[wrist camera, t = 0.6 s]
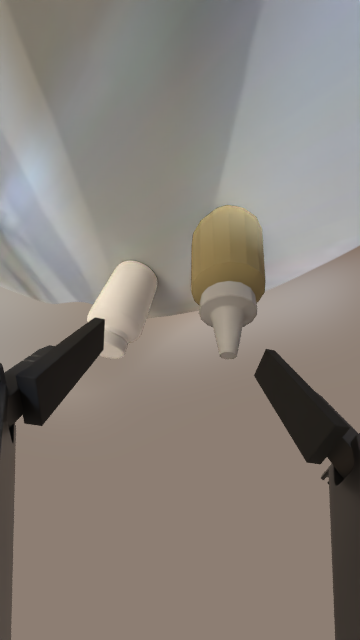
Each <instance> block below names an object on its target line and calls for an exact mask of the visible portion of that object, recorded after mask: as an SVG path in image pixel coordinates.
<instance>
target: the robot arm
mask: <svg viewBox="0 0 360 640" xmlns="http://www.w3.org/2000/svg"><path fill="white" fill-rule="evenodd" d="M104 329H105V319H101V318H96V317H95V318H93V319H92V320H90V321H89V322H88V323H87V324H85V325H84V326H82V327H81V328H80V329H78V330H77V331H75V332H74V333H73V334H72V335H70V336H69V337H67V338H66V339H65V340H63V341H62V342H61V343H59V344H58V345H56V346H47V347H44V348H42V349H39V350H38V351H36V352H35V353H33V354H32V355H31V356H29V357H27V358H26V359H24V361H21V362H20V363H18V364H17V365H15V366H14V367H12V368H11V369H9V370H8V371H6V372H5V373H4V370H3V366H2V364H1V363H0V640H11V611H12V570H13V567H12V566H13V528H14V527H13V526H14V485H15V484H14V483H15V441H16V425H15V422H16V421H17V420H18V419H19V418H20V417H21V416H22V415H23V418H24V423H26V424H32V425H39V426H42V425H43V424H44V423H45V421H46V420H47V419H48V418H49V417H50V415H51V414H52V413H53V411H54V410H55V409H56V408H57V407H58V405H59V404H60V403H61V402H62V400H63V399H64V398H65V397H66V395H67V394H68V393H69V392H70V390H71V389H72V388H73V387H74V386H75V384H76V383H77V382H78V381H79V379H80V378H81V377H82V376H83V374H84V373H85V372H86V371H87V370H88V368H89V367H90V366H91V365H92V363H93V362H94V361H95V359H96V358H97V357H98V356H99V355H100V353H101V352H102V351H103V350H104ZM254 376H255V378H256V380H257V381H258V383H259V384H260V386H261V388H262V389H263V391H264V393H265V394H266V396H267V398H268V399H269V401H270V403H271V404H272V406H273V407H274V409H275V411H276V413H277V414H278V416H279V417H280V419H281V420H282V422H283V424H284V426H285V427H286V429H287V430H288V432H289V434H290V436H291V437H292V439H293V440H294V442H295V444H296V445H297V447H298V449H299V450H300V452H301V454H302V455H303V457H304V459H305V460H306V462H308V463H315V464H321V463H322V462H323V461H324V459H325V458H326V457H328V459H329V460H330V461H331V462H332V464H331V465H330V466H329V468H328V469H327V470H326V471H325V472H324V474H323V475H322V477H321V479H322V480H324V479H325V478H326V477H329V482H328V484H329V491H330V492H329V493H330V518H331V543H332V565H333V567H332V568H333V593H334V617H335V640H360V433H359V434H358V433H357V432H356V431H355V430H354V429H353V428H352V427H351V426H350V425H349V424H348V423H347V422H346V421H345V420H344V419H343V418H342V417H341V416H340V415H339V414H338V412H337V411H335V410H334V409H333V408H332V406H331V405H329V404H328V402H327V401H326V400H325V399H324V398H323V397H322V396H320V395H319V394H318V393H316V392H315V391H314V390H313V389H312V388H311V387H310V386H309V385H308V384H307V383H306V382H305V381H304V380H303V379H302V378H301V377H300V376H299V375H298V374H297V373H296V372H295V371H294V370H293V369H292V368H291V367H290V366H289V365H288V364H287V363H286V362H285V361H284V360H283V359H282V358H281V356H280V355H279V354H277V353H276V351H274V350H268V349H266V350H265V353H264V355H263V357H262V359H261V362H260V364H259V366H258V368H257V370H256V373H255V375H254Z"/></svg>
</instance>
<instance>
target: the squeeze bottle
mask: <svg viewBox="0 0 360 640" xmlns="http://www.w3.org/2000/svg"><path fill="white" fill-rule="evenodd" d="M191 292H192V295H193V298H194V301H195V302H196V303H197V304H198V305H199V306H200V307H199V314H200V317H201V320H203V321H204V322H205V323H206V324H207V325H209V326H211V327H213V328H214V333H215V337H216V342H217V346H218V350H219V354H220V357H221V358H224V359H234V358H236V357H237V352H238V347H239V342H240V337H241V331H242V327H244V326H246V325H247V324H249V323H251V322H252V321H253V320H254V318H255V317H256V315H257V302H258V301H259V300H260V298H261V297H262V295H263V294H264V292H265V269H264V253H263V237H262V228H261V226H260V224H259V222H258V220H257V218H256V216H254V215H253V214H251V213H250V212H248V211H247V210H246V209H244V208H241V207H237V206H230V205H225V206H222V207H219V208H216V209H215V210H214V211H212V212H211V213H210V214H209V215H207V216H206V217H205V218H204V219H202V220H201V221H200V223H199V224H198V226H197V228H196V230H195V231H194V233H193V239H192V259H191Z"/></svg>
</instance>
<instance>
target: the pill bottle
mask: <svg viewBox="0 0 360 640" xmlns="http://www.w3.org/2000/svg"><path fill="white" fill-rule="evenodd" d="M156 289H157V278H156V276H155V274H154V272H153V271H152V270H151V269H150V268H149V267H147V266H146V265H144V264H142V263H140V262H137V261H124V262H122V263H120V264H119V265H118V266H117V267H116V268H115V270H114V272H113V273H112V275H111V277H110V278H109V280H108V281H107V283H106V285H105V286H104V288H103V290H102V291H101V293H100V295H99V296H98V298H97V300H96V301H95V303H94V305H93V306H92V308H91V310H90V311H89V313H88V317H87V322H89V321H90V320H92V319H93V318H95V317H96V318H101V319H105V329H104V350H103V351H102V352H101V353H100V356H103V357H107V358H121V357H123V356H124V355H125V352H126V349H127V346H128V343H131V342H134V341H135V340H137V339H138V338H139V337H140V335H141V333H142V331H143V327H144V325H145V322H146V319H147V316H148V313H149V310H150V307H151V304H152V301H153V298H154V295H155V292H156Z"/></svg>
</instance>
